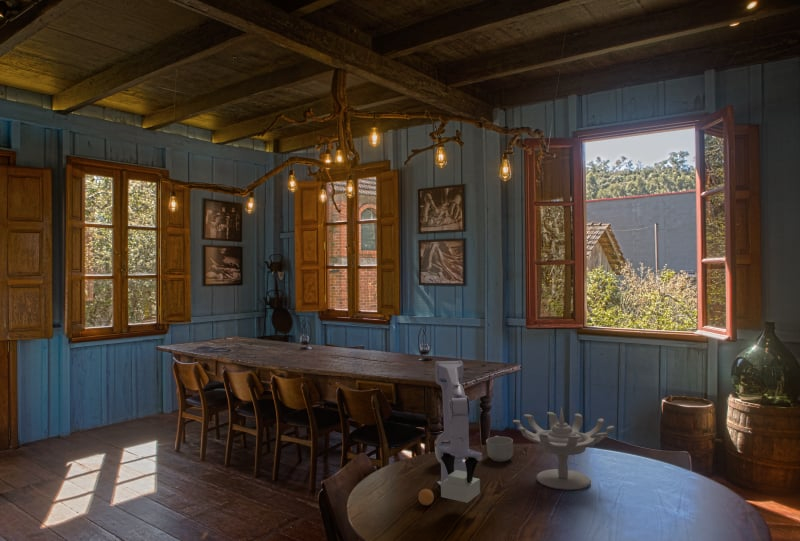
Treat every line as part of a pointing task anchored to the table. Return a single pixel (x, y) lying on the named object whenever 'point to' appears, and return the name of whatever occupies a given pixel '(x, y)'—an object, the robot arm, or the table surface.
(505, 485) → the table surface
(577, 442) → the candelabra
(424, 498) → the ball
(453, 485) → the white block
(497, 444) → the teacup
